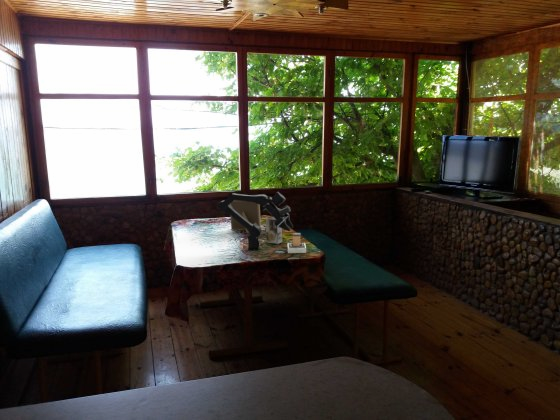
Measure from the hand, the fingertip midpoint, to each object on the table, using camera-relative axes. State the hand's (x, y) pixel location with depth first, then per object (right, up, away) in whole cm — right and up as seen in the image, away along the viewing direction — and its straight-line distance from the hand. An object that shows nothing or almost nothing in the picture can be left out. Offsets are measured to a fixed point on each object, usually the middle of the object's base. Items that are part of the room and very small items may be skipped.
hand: (291, 229), depth 259 cm
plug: (+3, -13, +1) cm, 13 cm away
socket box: (+3, -13, +2) cm, 14 cm away
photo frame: (-33, -4, +54) cm, 63 cm away
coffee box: (-11, -10, +21) cm, 26 cm away
